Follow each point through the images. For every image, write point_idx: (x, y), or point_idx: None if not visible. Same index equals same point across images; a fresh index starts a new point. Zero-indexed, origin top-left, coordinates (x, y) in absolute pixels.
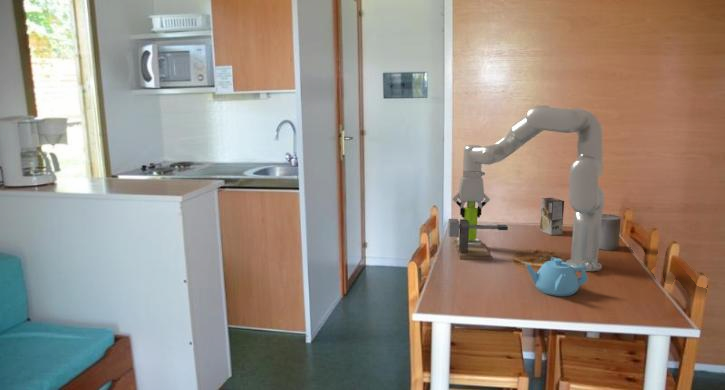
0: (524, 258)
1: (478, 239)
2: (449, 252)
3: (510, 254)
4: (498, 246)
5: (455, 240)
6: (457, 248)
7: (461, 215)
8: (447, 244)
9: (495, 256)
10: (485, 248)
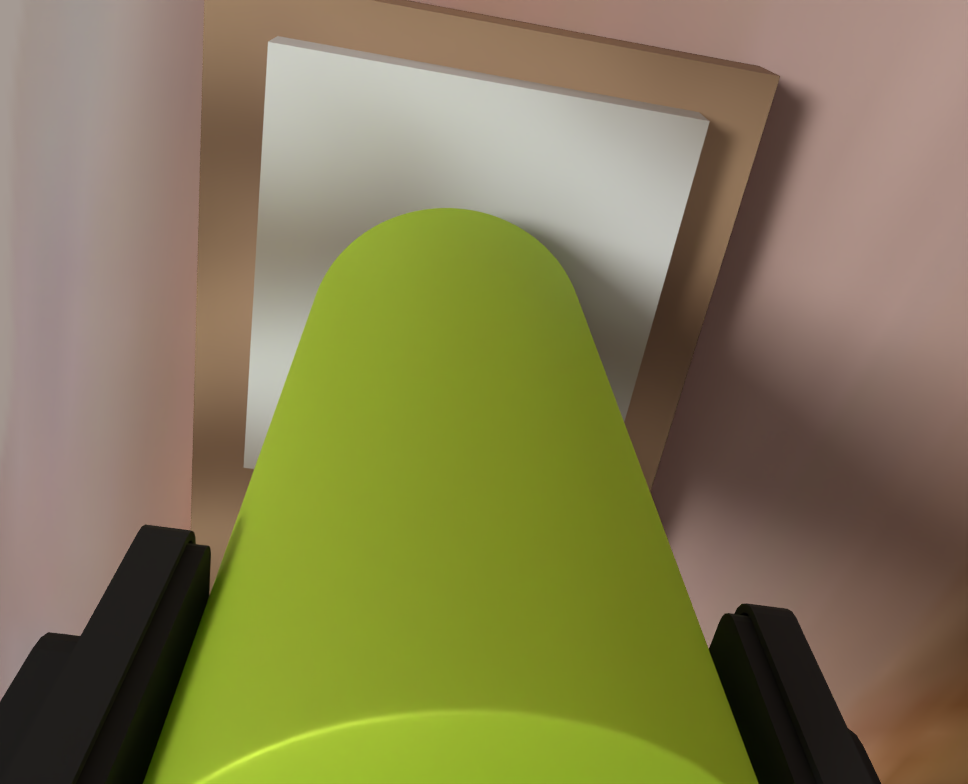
0: (950, 765)
1: (677, 218)
2: (94, 514)
3: (886, 642)
4: (956, 296)
5: (237, 70)
6: (197, 538)
7: (143, 528)
8: (93, 85)
9: None
10: None
